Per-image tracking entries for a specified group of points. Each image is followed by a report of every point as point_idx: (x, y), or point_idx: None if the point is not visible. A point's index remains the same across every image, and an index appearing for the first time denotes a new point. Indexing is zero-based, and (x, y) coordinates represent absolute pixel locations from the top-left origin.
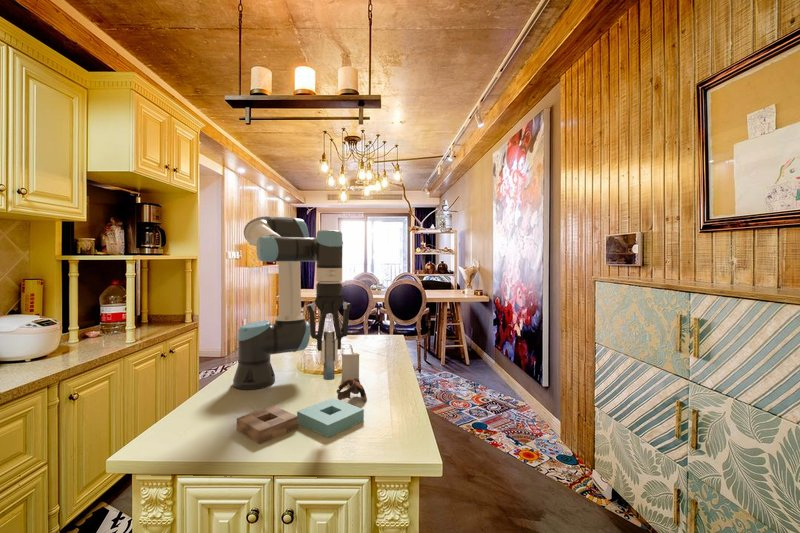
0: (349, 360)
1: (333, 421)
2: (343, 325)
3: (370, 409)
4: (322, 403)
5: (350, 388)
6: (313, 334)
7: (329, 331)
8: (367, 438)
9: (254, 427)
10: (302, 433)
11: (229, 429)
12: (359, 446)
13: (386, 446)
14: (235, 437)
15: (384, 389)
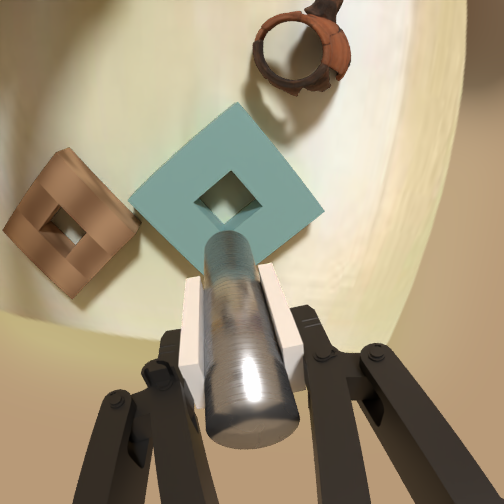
0: None
1: None
2: (388, 437)
3: (344, 133)
4: (200, 147)
5: (306, 86)
6: (137, 448)
7: (256, 421)
8: (305, 286)
9: (55, 281)
10: (158, 249)
11: (2, 213)
12: None
13: (332, 316)
14: None
15: (401, 7)
